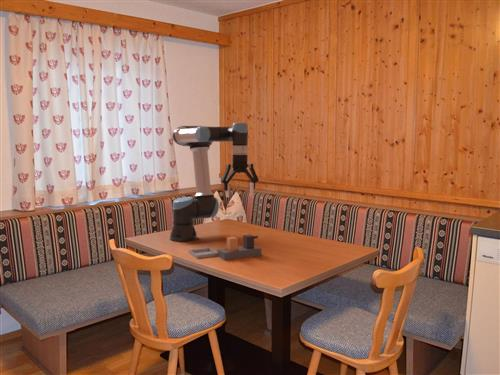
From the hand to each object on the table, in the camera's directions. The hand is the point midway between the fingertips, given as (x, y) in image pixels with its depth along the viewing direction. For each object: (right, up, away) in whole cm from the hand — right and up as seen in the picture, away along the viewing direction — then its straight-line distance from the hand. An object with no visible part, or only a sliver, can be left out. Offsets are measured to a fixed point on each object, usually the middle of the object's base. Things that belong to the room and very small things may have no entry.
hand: (239, 196), depth 233 cm
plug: (-4, -30, -7) cm, 31 cm away
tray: (-18, -29, -3) cm, 34 cm away
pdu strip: (0, -30, -5) cm, 30 cm away
